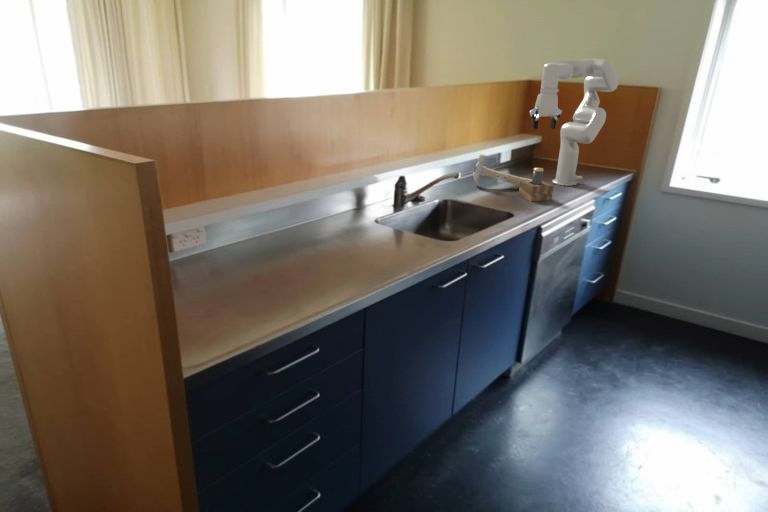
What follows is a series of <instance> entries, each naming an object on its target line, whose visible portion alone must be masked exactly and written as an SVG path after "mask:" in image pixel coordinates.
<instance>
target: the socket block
mask: <svg viewBox="0 0 768 512" xmlns="http://www.w3.org/2000/svg"><path fill="white" fill-rule="evenodd" d="M518 186H519V185H518ZM553 193H554V185H553V184H550V183H549V182H546V181H544V180H542V184H541V185H534V184H532V181H520V186H519V188H518V196H519V197H520V198H523V199H525V200H528V201H530V202H543V201H545V202H546V201H552V200H553V199H552V198H553Z"/></svg>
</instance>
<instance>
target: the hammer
mask: <svg viewBox="0 0 768 512" xmlns="http://www.w3.org/2000/svg"><path fill="white" fill-rule="evenodd" d="M487 160H488V156H487V155H485V154H483V153H480V154H479V155H478V157H477V163H476V164H475V166H474V169H473V172H472V175H473V179H474V182H475V184H476V185H477V186H478V188H481V187H480V184H479V179H480V176H481V177H484V176H487V177H489V178H490V177H491V178H493V179H497V180H499V181H503V182H506V183H508V184H512V185H516V186H520V181H532V179H531V178H526V177H523V176H522V177H520V176H518V175H514V174H510V173H508V172H507V173H506V172H502V171H499V170H498V171H497V170H494V169H491V168H488V167H487V166H484V164H485V163H487Z"/></svg>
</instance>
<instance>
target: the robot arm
mask: <svg viewBox="0 0 768 512" xmlns="http://www.w3.org/2000/svg"><path fill="white" fill-rule="evenodd" d="M617 74H618V73H616V70H615V67H614V66H613V64H612V62H611V61H610V60H609V59H607V58H583V59H574V60H565V61H563V60H562V61H553V62H548V63H545V64H544V65H543V67H542V76H541V84H540V90H539V91H540V92H539V94H538V95H537V96H536V97H537V98H536V101H535V103H534V108H532V109H530V110H529V115H530V118H531V119H532V129H533V130H538V127H539V119H540V118H541V117H545V118H546V117H551V120H550V125H549V128H550V129H552V130H555V129H556V125H557V121H558V119H559V118H560V117H561V115H562V113H563V110H561V109H560V108H559V107H558V106H559V105H558V104H559V99H558V98H559V97H558V93H559V92H560V89H559V88H558V86H559V81H567V80H568V81H569V80H570V79H582V78H584V81H583V94H584V95H583V99H582V101H581V102H580V104H579V105H578V107H577V108H576V109H575V112H574V114H573V116H572V120H573V121H568V122H565V123H564V124H563V125H562V126H560V146H559V147H560V148H559V152H558V153H559V154H558V160H557V167H556V174H555V178H554V179H552V181H551V182H552V183H553V184H555V185H558V186H564V185H565V186H568V187H570V186H573V185H574V186H576V185H577V184H578V182H577V181H580V180H583V176H582V175H577V174H576V173H577V172H576V171H577V166H578V160H579V153H580V149H579V148H580V147H579V145H578V143H579V144H586V145H587V144H591V143H592V142H593V141H594V140H595V139H596V137H597V135H599V132H600V131H601V129H602V127H604V124H605V122H606V119H607V112H606V110H605V109H604V108H602V107H599V105H600V97H599V95H598V93H597V92H603V93H604V92H605V93H611V92H614V91H615V90H617V89H618V86H619V77H618V75H617Z"/></svg>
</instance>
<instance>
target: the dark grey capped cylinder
mask: <svg viewBox="0 0 768 512" xmlns="http://www.w3.org/2000/svg"><path fill="white" fill-rule="evenodd" d="M532 171H533V172H532V184H534V185H541V184H542V181H543V176H544V168H543V167H533V170H532Z"/></svg>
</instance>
